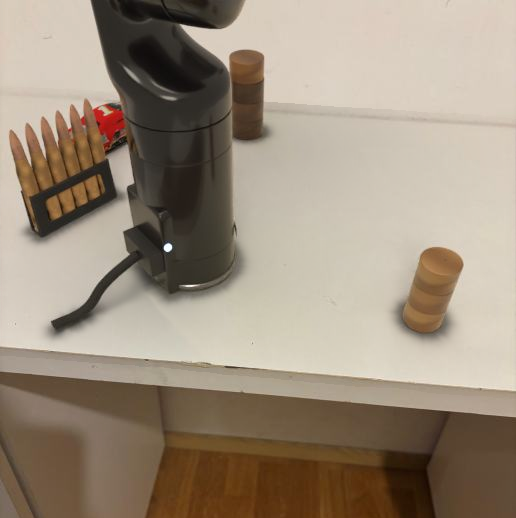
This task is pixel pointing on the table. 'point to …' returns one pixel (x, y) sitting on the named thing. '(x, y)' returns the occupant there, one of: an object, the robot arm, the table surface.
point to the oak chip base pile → (432, 289)
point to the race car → (108, 125)
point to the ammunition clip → (63, 171)
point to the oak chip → (246, 67)
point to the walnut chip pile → (247, 110)
